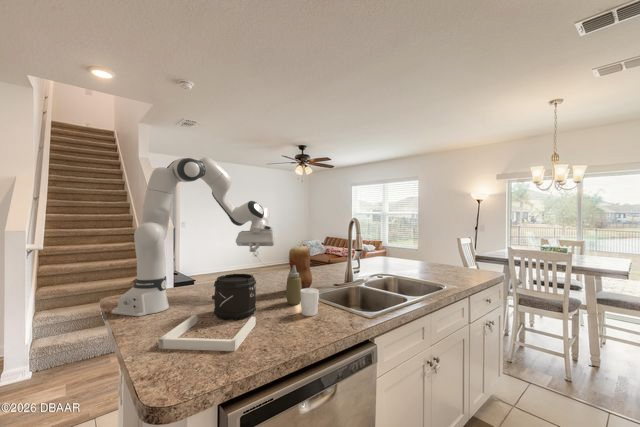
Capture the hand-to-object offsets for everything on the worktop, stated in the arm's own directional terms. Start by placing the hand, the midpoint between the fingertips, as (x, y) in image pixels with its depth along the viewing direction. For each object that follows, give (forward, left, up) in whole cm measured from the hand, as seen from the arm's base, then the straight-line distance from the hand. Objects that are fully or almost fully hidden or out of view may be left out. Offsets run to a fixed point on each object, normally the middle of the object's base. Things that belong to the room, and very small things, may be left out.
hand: (252, 251), depth 154 cm
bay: (0, -49, -23) cm, 54 cm away
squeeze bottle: (+23, -9, -24) cm, 34 cm away
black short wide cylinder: (0, -26, -24) cm, 35 cm away
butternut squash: (+23, +12, -24) cm, 35 cm away
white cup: (+32, -23, -24) cm, 46 cm away
